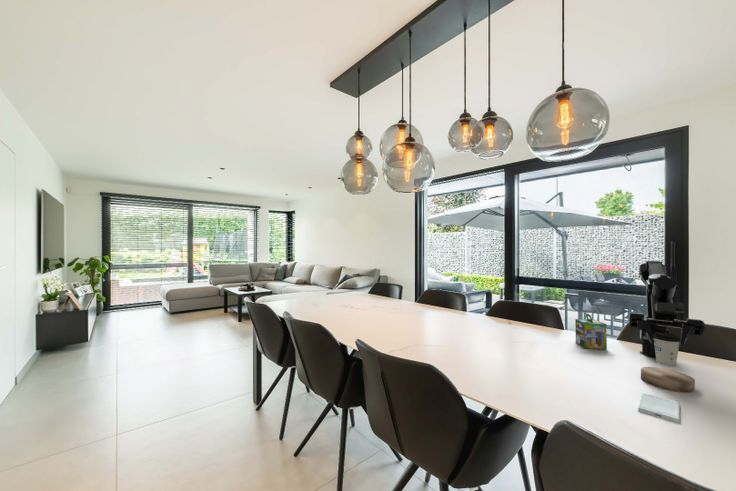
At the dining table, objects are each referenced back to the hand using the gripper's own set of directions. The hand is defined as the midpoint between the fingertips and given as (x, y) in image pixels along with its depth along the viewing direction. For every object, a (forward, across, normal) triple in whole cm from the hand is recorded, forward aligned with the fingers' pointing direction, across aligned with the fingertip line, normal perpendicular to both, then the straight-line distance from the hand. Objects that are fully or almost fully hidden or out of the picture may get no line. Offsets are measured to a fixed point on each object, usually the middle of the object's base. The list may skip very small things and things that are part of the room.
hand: (666, 345), depth 103 cm
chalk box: (-13, -22, +33) cm, 41 cm away
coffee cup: (+4, 0, +6) cm, 7 cm away
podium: (+9, 0, +10) cm, 13 cm away
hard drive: (+26, -4, -6) cm, 27 cm away
